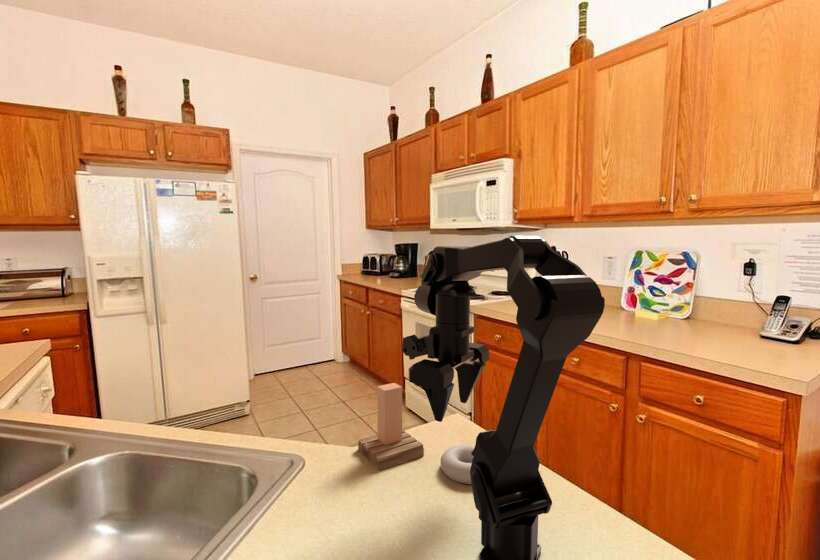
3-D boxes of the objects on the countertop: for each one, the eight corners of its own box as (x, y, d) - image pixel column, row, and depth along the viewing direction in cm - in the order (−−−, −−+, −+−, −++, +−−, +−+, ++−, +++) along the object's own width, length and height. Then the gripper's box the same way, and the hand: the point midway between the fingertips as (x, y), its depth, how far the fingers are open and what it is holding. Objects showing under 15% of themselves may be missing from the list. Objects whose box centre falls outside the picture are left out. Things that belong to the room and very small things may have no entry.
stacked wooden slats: (423, 455, 79) (423, 445, 79) (378, 470, 73) (378, 459, 73) (400, 437, 86) (400, 427, 86) (358, 449, 81) (358, 439, 81)
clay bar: (402, 439, 81) (402, 386, 80) (384, 445, 79) (384, 390, 78) (394, 434, 83) (394, 382, 82) (377, 439, 81) (377, 386, 80)
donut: (457, 494, 67) (506, 479, 71) (457, 475, 67) (506, 461, 71) (431, 464, 76) (476, 453, 80) (431, 447, 76) (475, 436, 80)
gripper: (437, 309, 79) (437, 386, 80) (380, 325, 64) (381, 419, 65) (490, 315, 73) (489, 397, 74) (442, 333, 57) (441, 437, 59)
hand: (451, 411), depth 68 cm, fingers open, 9 cm apart
